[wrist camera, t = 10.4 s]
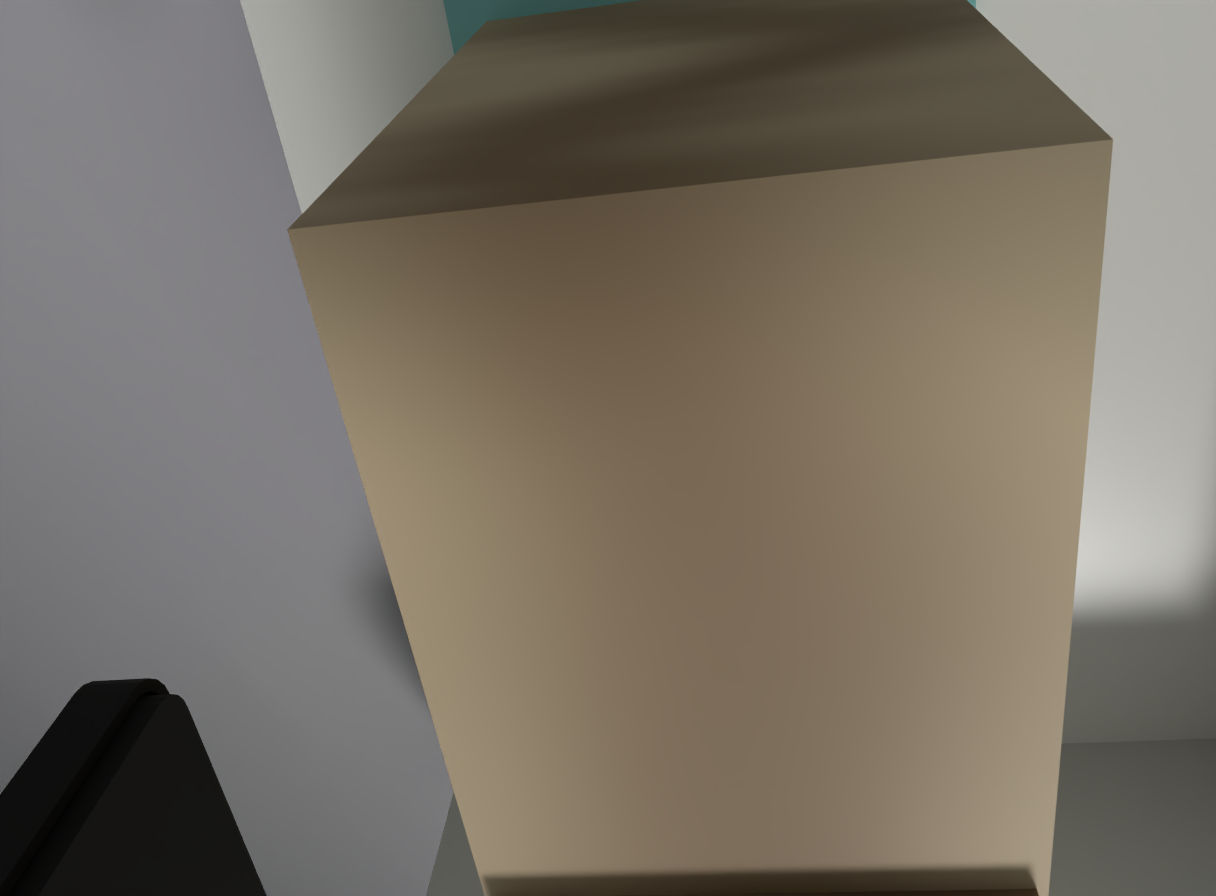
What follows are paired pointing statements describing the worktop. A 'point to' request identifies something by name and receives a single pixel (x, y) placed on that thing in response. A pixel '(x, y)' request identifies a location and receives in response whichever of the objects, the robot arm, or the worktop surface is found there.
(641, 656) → the beige and brown box
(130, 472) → the worktop surface
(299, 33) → the arena
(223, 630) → the worktop surface
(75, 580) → the worktop surface
